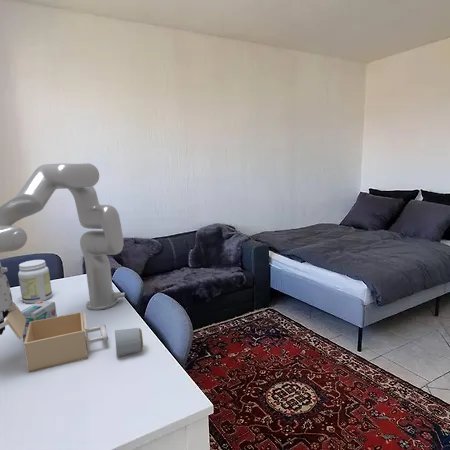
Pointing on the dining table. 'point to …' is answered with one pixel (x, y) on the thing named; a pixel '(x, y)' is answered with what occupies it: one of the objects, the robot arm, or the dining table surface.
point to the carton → (58, 341)
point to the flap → (15, 322)
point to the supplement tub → (34, 281)
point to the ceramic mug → (128, 341)
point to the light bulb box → (38, 313)
